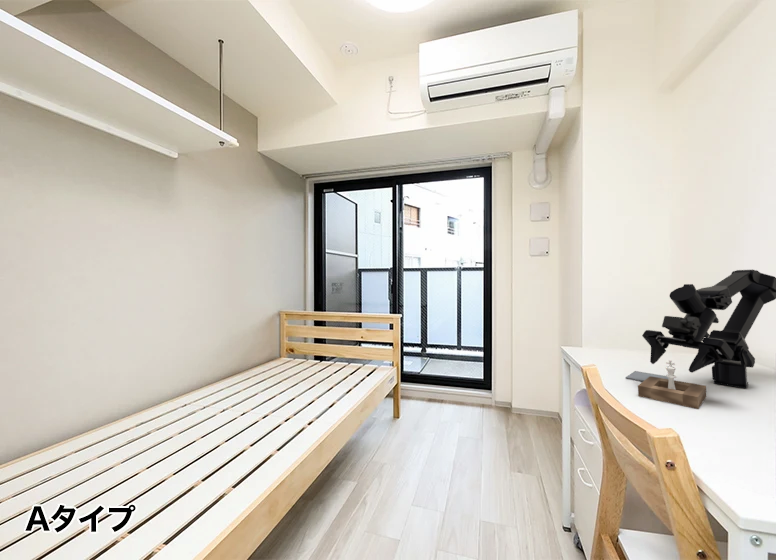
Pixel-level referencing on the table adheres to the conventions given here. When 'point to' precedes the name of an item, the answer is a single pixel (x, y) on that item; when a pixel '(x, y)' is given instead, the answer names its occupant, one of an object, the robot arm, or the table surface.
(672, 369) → the chess piece
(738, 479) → the table surface
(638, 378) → the slate mat
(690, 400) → the socket block
